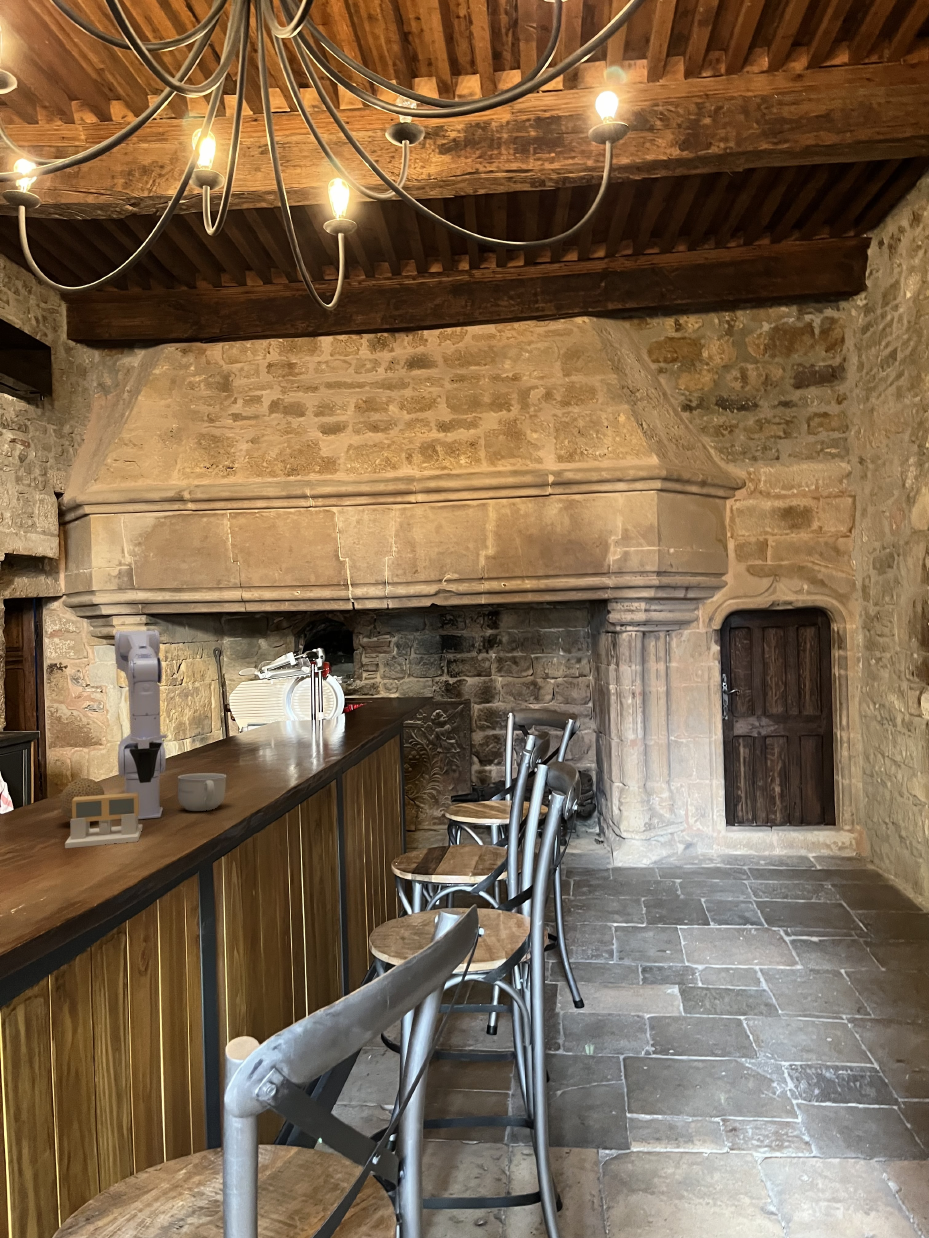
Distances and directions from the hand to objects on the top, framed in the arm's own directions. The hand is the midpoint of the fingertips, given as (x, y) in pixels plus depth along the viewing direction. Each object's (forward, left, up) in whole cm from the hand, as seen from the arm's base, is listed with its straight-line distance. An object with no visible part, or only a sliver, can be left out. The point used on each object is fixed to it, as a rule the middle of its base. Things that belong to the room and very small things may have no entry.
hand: (146, 779), depth 168 cm
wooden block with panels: (+4, -7, -6) cm, 11 cm away
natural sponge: (-12, -14, -11) cm, 21 cm away
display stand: (+4, -8, -10) cm, 14 cm away
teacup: (-16, +11, -11) cm, 22 cm away
